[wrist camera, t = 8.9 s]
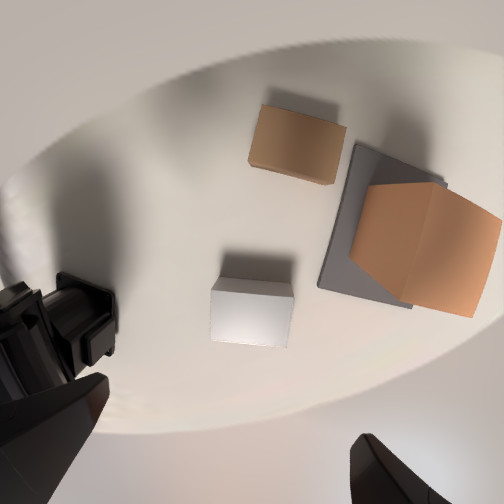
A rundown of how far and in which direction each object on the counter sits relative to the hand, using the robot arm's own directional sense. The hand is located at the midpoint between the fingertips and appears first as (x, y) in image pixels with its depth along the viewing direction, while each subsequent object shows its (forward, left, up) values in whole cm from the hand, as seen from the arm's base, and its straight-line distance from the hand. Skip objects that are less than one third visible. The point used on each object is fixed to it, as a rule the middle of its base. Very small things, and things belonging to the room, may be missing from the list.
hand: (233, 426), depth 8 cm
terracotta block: (+8, +7, -11) cm, 16 cm away
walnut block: (0, +10, -12) cm, 16 cm away
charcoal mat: (+8, +7, -12) cm, 16 cm away
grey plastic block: (0, -1, -12) cm, 12 cm away
